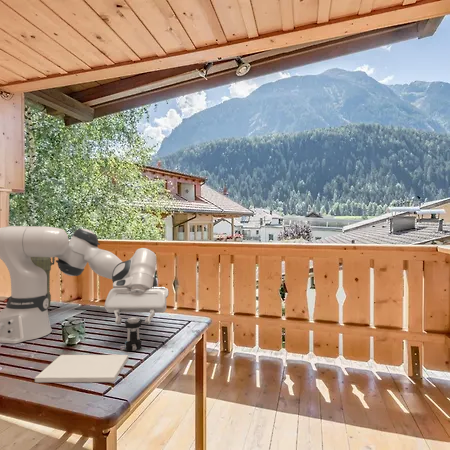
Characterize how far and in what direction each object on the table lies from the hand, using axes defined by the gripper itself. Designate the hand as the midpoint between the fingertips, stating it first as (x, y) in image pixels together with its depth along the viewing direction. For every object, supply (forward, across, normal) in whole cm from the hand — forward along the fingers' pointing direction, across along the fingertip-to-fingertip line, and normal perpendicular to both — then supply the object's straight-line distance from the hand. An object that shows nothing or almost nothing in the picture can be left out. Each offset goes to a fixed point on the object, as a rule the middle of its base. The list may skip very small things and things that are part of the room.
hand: (132, 323), depth 105 cm
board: (+16, +9, +5) cm, 19 cm away
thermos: (-28, +55, -40) cm, 74 cm away
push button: (+7, 0, -5) cm, 8 cm away
